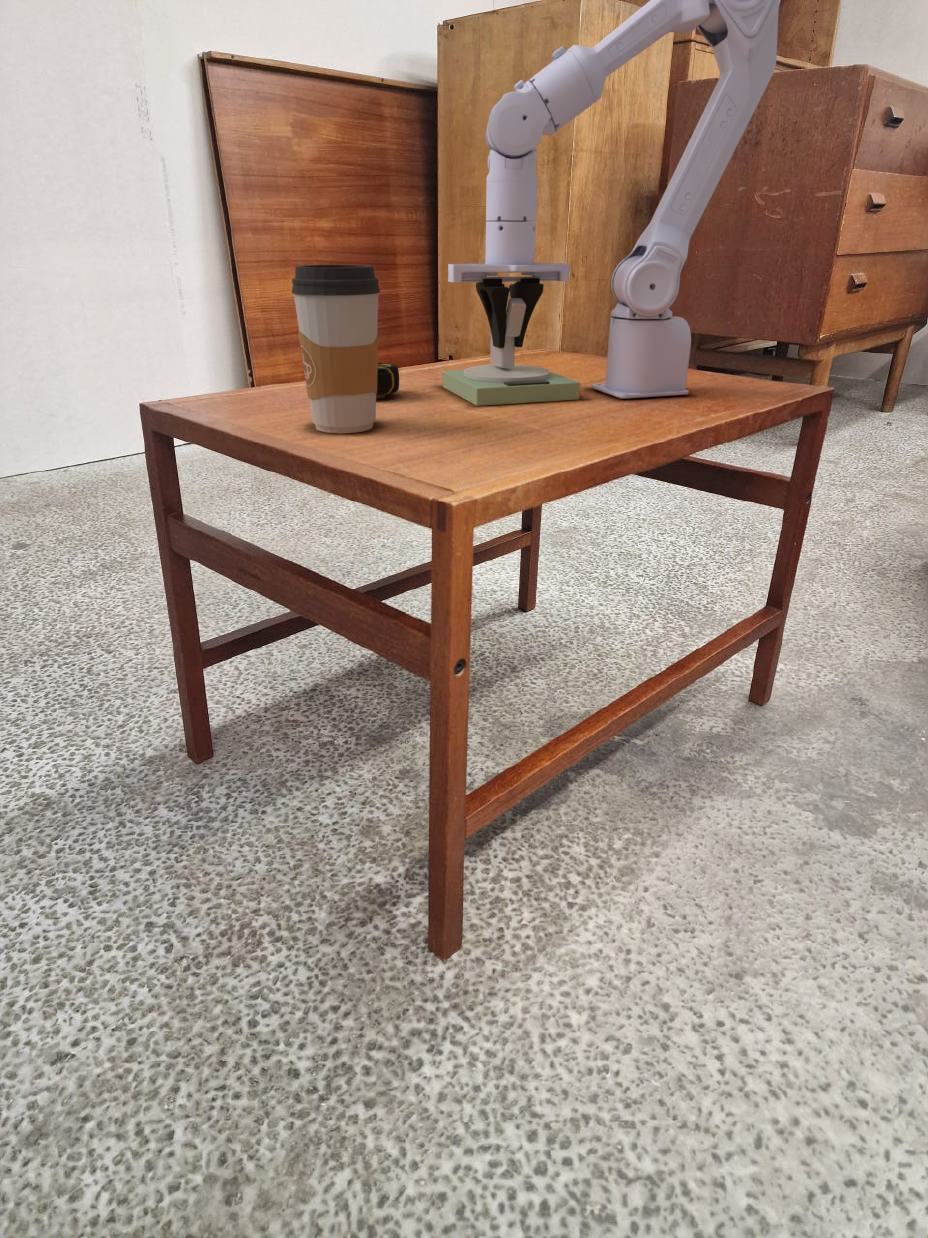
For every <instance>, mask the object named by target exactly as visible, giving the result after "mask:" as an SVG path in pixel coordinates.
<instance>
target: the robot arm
mask: <svg viewBox="0 0 928 1238" xmlns="http://www.w3.org/2000/svg"><path fill="white" fill-rule="evenodd" d="M781 1H782V0H649V1H648V2H647V3H645V4H644V5H642V6H641V7H640V8H639V9H638V10H636V12H634V13H633V14H632V15H630V17H628V18H627V19H626V20H624V21H623V22H622V23H621V24H620V25H618V26H617V27H616V28H615V29H613V30H612V31H611V32H610V33H609V34H607V35H606V36H605V37H604V38H603V39H602V40H601V41H599V42H598V43H597V44H595V45H594V46H592V47H591V46H590V47H588V46H585V45H584V46H583V45H579V44H573V45H572V46H570V47H569V48H568V49H566V48H565V47H564V46H563V45H562V46H559V48H557V49H556V50H555V51H553V53H552V54H551V59H552V61H551V62H550V63H549V64H548V65H546V66H545V67H543V68H541V69H540V71H538V72H536V74H535V75H533V76H532V77H531V78H529V79H528V80H527V81H526V82H524V81H523V79H520V80H519V81H518V82H517V83H515V84H514V86H513V89H514V91H509V92H506V93H503V95H502V96H501V98H500V100H499V101H497V102H496V103H495V105H494V106H493V108H492V109H491V111H490V114H489V116H488V121H487V126H486V130H485V142H486V144H487V147H488V148H489V154H488V156H487V169H488V174H487V175H486V185H485V186H486V188H485V190H486V192H485V193H486V194H485V195H486V196H485V204H486V205H485V254H484V255H485V259H484V260H485V263H482V262H481V263H479V262H478V263H448V265H447V282H448V283H452V284H462V283H475V290H476V293H477V295H478V297H479V299H480V301H481V304H482V307H483V309H484V311H485V315H486V318H487V321H488V325H489V329H490V336H491V335H492V341H493V346H494V347H497V348H504V346H505V318H506V311H507V306H508V301H509V299H510V298H522V299H523V301H524V303H525V304H526V310H525V314H524V318H523V323H522V327H521V332H520V335H519V336H517V337H515V348H523V345H524V340H525V336H526V333H527V329H528V327H529V323H530V320H531V317H532V314H533V312H534V310H535V308H536V306H537V304H538V302H539V300H540V298H541V296H542V295H543V293H544V289H545V288H544V283H540V282H569V281H570V263H566V262H565V263H564V262H563V263H562V262H560V263H559V262H552V263H551V262H535V259H536V256H535V255H536V234H537V233H536V229H537V205H538V203H537V202H538V182H539V181H538V179H539V178H538V175H537V154H538V153H537V150H536V148H537V147H538V145H539V144H540V142H541V140H542V137H543V136H553V135H554V134H556V132H558V131H559V130H561V129H562V128H564V127H565V126H566V125H568V124H569V123H570V122H572V121H573V120H574V119H575V118H576V117H578V116H579V115H581V114H582V113H583V112H584V111H587V109H589V108H590V107H591V106H593V105H594V104H595V103H597V102H598V101H600V100H601V98H602V96H603V92H604V86H605V83H606V80H607V77H609V76H610V75H611V74H613V73H614V72H616V71H617V70H618V69H621V67H623V66H625V64H627V63H628V62H630V61H631V60H633V59H634V58H636V57H637V56H638V55H639V54H641V53H643V51H645V50H646V49H648V48H649V47H651V46H652V45H654V44H655V43H656V42H657V41H659V40H661V39H662V38H664V36H666V35H667V34H669V33H676V34H691V33H692V32H693V31H694V30H696V29H697V31H698V32H699V33H700V34H701V36H702V37H703V38H704V40H705V41H706V42H707V44H708V45H709V47H711V49H712V52H713V55H714V59H715V61H716V64H717V68H718V71H719V79H718V81H717V83H716V84H715V86H714V88H713V91H712V93H711V95H710V97H709V99H708V101H707V104H706V105H705V108H704V110H703V112H702V113H701V116H700V118H699V120H698V121H697V124H696V126H695V128H694V131H693V133H692V134H691V136H690V139H689V140H688V143H687V145H686V147H685V149H684V152H683V153H682V155H681V157H680V159H679V162H678V164H677V166H676V168H675V170H674V172H673V174H672V176H671V178H670V181H669V182H668V184H667V187H666V189H665V191H664V193H663V195H662V197H661V199H660V201H659V203H658V206H657V207H656V209H655V211H654V214H653V216H652V217H651V220H650V222H649V224H648V225H647V226H646V228H645V229H644V231H643V232H642V233H641V235H640V236H639V238H638V239H637V240H636V243H635V245H634V247H633V249H632V251H631V252H630V253H629V254H628V255H627V256H626V257H624V258H623V259H622V260H621V261H620V262H619V263H618V264H617V265H616V267H615V268H614V271H613V272H612V276H611V281H610V287H611V293H612V295H613V297H614V299H615V301H616V302H617V303H616V306H615V307H614V309H612V310H611V311H610V318H609V332H608V344H607V345H608V346H607V357H606V369H605V382H604V383H593V384H591V389H594V390H596V391H599V392H602V393H604V394H607V395H610V396H613V397H615V398H618V399H622V400H623V399H641V398H653V397H654V398H655V397H671V396H672V397H673V396H686V395H689V393H690V390H688V389H686V388H687V379H688V372H689V363H690V355H691V348H692V334H691V327H690V325H689V323H688V321H687V320H686V319H685V318H684V317H681V316H673V311H672V310H671V309H670V307H671V306H672V305H673V304H674V302H675V301H676V299H677V297H678V294H679V291H680V281H681V273H682V270H683V268H684V265H685V263H686V261H687V259H688V255H689V248H690V247H689V246H690V240H691V238H692V236H693V234H694V232H695V230H696V228H697V226H698V224H699V222H700V220H701V218H702V216H703V214H704V213H705V210H706V208H707V206H708V205H709V202H710V201H711V199H712V196H713V194H714V192H715V190H716V188H717V186H718V184H719V182H720V181H721V179H722V177H723V174H724V173H725V170H726V168H727V167H728V165H729V163H730V160H731V158H732V157H733V154H734V153H735V150H736V149H737V146H738V144H739V142H740V140H741V139H742V137H743V135H744V133H745V131H746V129H747V127H748V125H749V123H750V121H751V119H752V117H753V115H754V113H755V111H756V110H757V107H758V105H759V103H760V101H761V99H762V97H763V95H764V93H765V91H766V89H767V87H768V85H769V83H770V81H771V79H772V77H773V75H774V72H775V69H776V66H777V54H778V30H779V9H780V6H781V5H780V4H781ZM498 273H499V274H500V273H502V274H503V273H506V274H507V273H509V274H511V273H516V274H517V273H518V274H520V275H522V276H498ZM508 282H509V283H510V284H509V285H508V286H505V283H508ZM512 282H514V283H512ZM509 296H510V297H509Z"/></svg>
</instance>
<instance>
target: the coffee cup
mask: <svg viewBox="0 0 928 1238" xmlns="http://www.w3.org/2000/svg"><path fill="white" fill-rule="evenodd" d="M294 267H295V268H294V269H295V270H294V278H291V283H292V287H291V294H293V297H294V298H293V299H294V304H295V311H296V317H297V325H298V339H299V346H300V351H301V359H302V367H303V372H304V380H305V386H306V394H307V398H308V401H309V408H310V409H309V410H310V416H311V421H312V423H313V424H314V425H315V429H316V430H317V431H318V432H323V433H328V434H352V433H353V434H354V433H355V434H356V433H360V432H365V431H370V430H371V429H373V428H374V423H375V422H376V419H377V418H376V417H377V399H376V394H377V371H378V363H379V355H378V354H379V330H378V327H379V326H378V323H379V321H378V320H379V319H378V318H379V294H380V293H381V290H380V286H379V282H380V280H379V278H378V277H376V274H375V268H374V265H369V264H368V265H365V264H306V265H305V264H304V265H295V266H294Z"/></svg>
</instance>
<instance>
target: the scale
mask: <svg viewBox="0 0 928 1238" xmlns="http://www.w3.org/2000/svg"><path fill="white" fill-rule="evenodd" d="M580 387H581V382H579V381H577V380H574V379H571V378H568V377H566V376H563V375H560V374H557V373H555V372H552V371H551V370H550V369H547V368H545V367H541V366H537V365H528V364H515V363H514V367H506V368H501V367H499V366H496V365H494V364H491V363H489V364H480V365H473V366H469V367H466V368H464V369H456V370H454V369H453V370H443V371H442V388H444V389H445V390H448V391H449V392H451V393H453V394H455V395H456V396H458V397H460V398H461V399H464V400H466V401H467V402H469V403H471V404H472V405H474V406H475V407H476V406H477V407H482V406H498V405H499V406H500V405H513V404H514V405H515V404H530V403H544V402H546V403H547V402H560V401H561V402H563V401H578V400H580V391H581V389H580Z"/></svg>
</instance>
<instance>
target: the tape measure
mask: <svg viewBox="0 0 928 1238" xmlns="http://www.w3.org/2000/svg"><path fill="white" fill-rule="evenodd" d="M399 389H400V370H399V367H398V366H397V365H396V364H395V363H388V362H378V371H377V394H376V400H377V399H385V398H386V395H392V394H395V393H398V391H399Z"/></svg>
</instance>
